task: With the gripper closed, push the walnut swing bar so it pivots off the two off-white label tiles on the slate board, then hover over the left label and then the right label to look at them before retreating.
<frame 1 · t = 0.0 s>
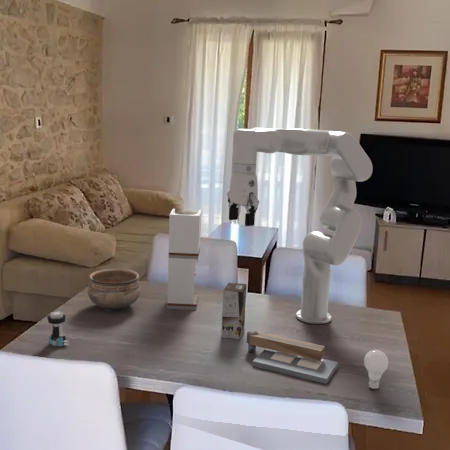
hand: (241, 222, 183), 37 cm above the table, tool pointing down, fingers open, 9 cm apart
swing bar: (283, 344, 172), point 5 cm above the table, hinge at 0.0°
cooking pot: (114, 308, 209), on the table
push button: (58, 345, 176), on the table
label board: (295, 366, 168), on the table
swing post: (251, 351, 177), on the table
white wood-banded pillar: (183, 304, 216), on the table
coffee box: (233, 333, 190), on the table
lightbulb: (373, 389, 157), on the table
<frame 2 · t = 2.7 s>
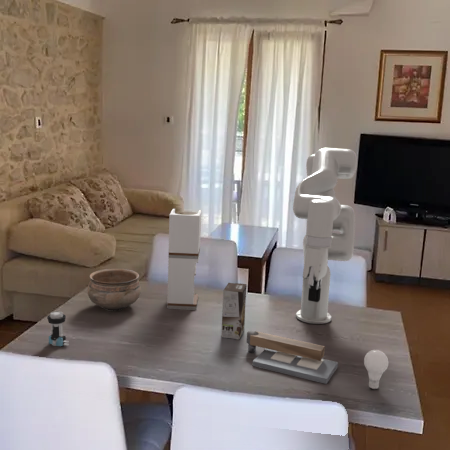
hand: (313, 300, 173), 17 cm above the table, tool pointing down, fingers closed
nothing on the table moved.
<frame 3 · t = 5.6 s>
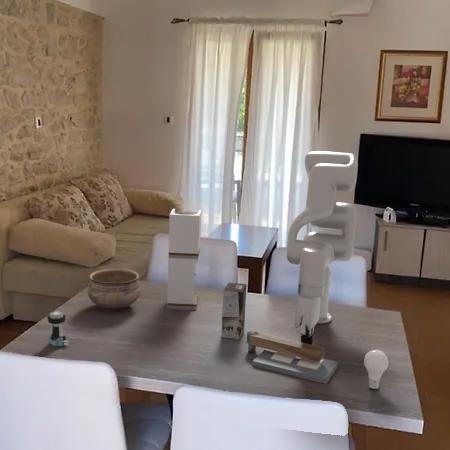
hand: (306, 347, 172), 4 cm above the table, tool pointing down, fingers closed
swing bar: (283, 345, 171), point 5 cm above the table, hinge at 3.1°, touching gripper
everything else where it was.
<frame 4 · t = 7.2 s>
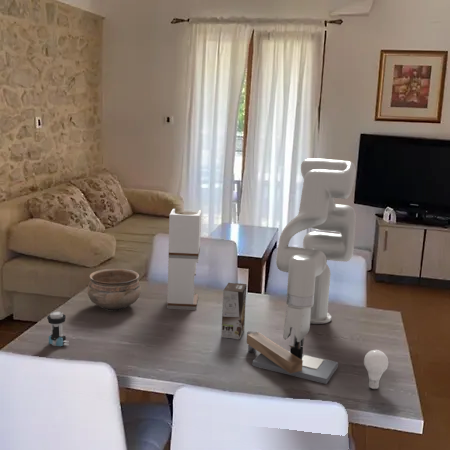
hand: (295, 359, 164), 3 cm above the table, tool pointing down, fingers closed
swing bar: (271, 350, 167), point 4 cm above the table, hinge at 34.2°, touching gripper
everything else where it was.
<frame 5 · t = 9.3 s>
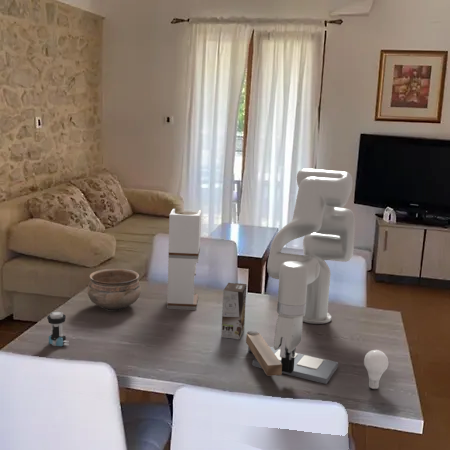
hand: (287, 370, 157), 3 cm above the table, tool pointing down, fingers closed
swing bar: (262, 351, 166), point 5 cm above the table, hinge at 51.5°, touching gripper
everything else where it was.
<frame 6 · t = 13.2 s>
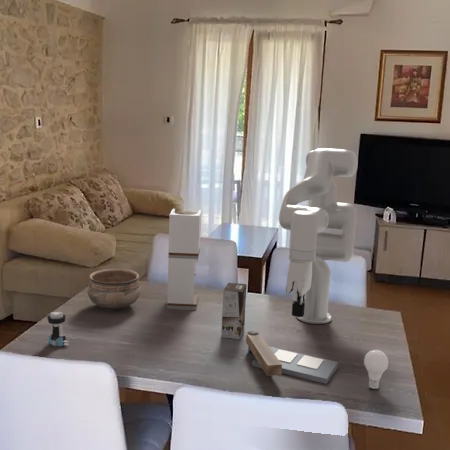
hand: (297, 315, 166), 15 cm above the table, tool pointing down, fingers closed
swing bar: (262, 351, 166), point 5 cm above the table, hinge at 51.6°
everything else where it was.
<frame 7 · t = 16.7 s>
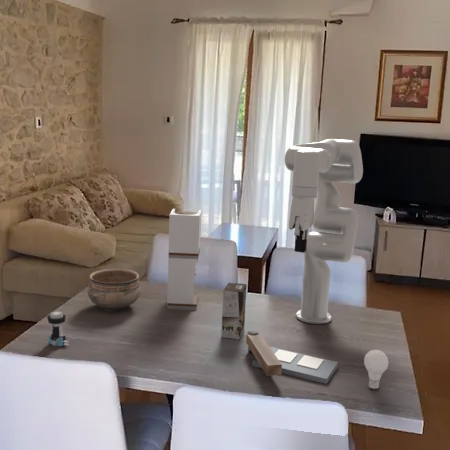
hand: (300, 251, 175), 31 cm above the table, tool pointing down, fingers closed
nothing on the table moved.
at the end: swing bar at +52° (first picture: +0°); lightbulb moved 0.2 cm from its start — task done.
